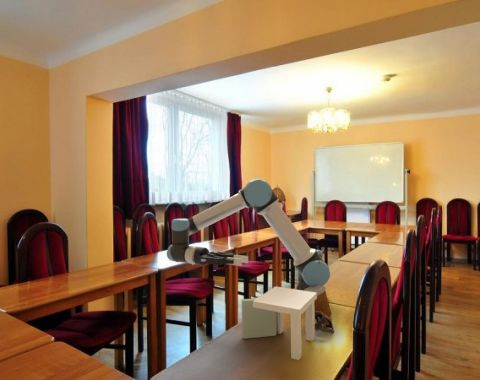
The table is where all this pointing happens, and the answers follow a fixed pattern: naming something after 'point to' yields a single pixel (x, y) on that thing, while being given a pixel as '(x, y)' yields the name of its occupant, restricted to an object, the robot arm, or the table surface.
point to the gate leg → (258, 321)
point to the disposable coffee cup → (320, 299)
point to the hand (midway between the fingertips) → (244, 261)
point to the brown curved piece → (322, 321)
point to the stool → (291, 312)
